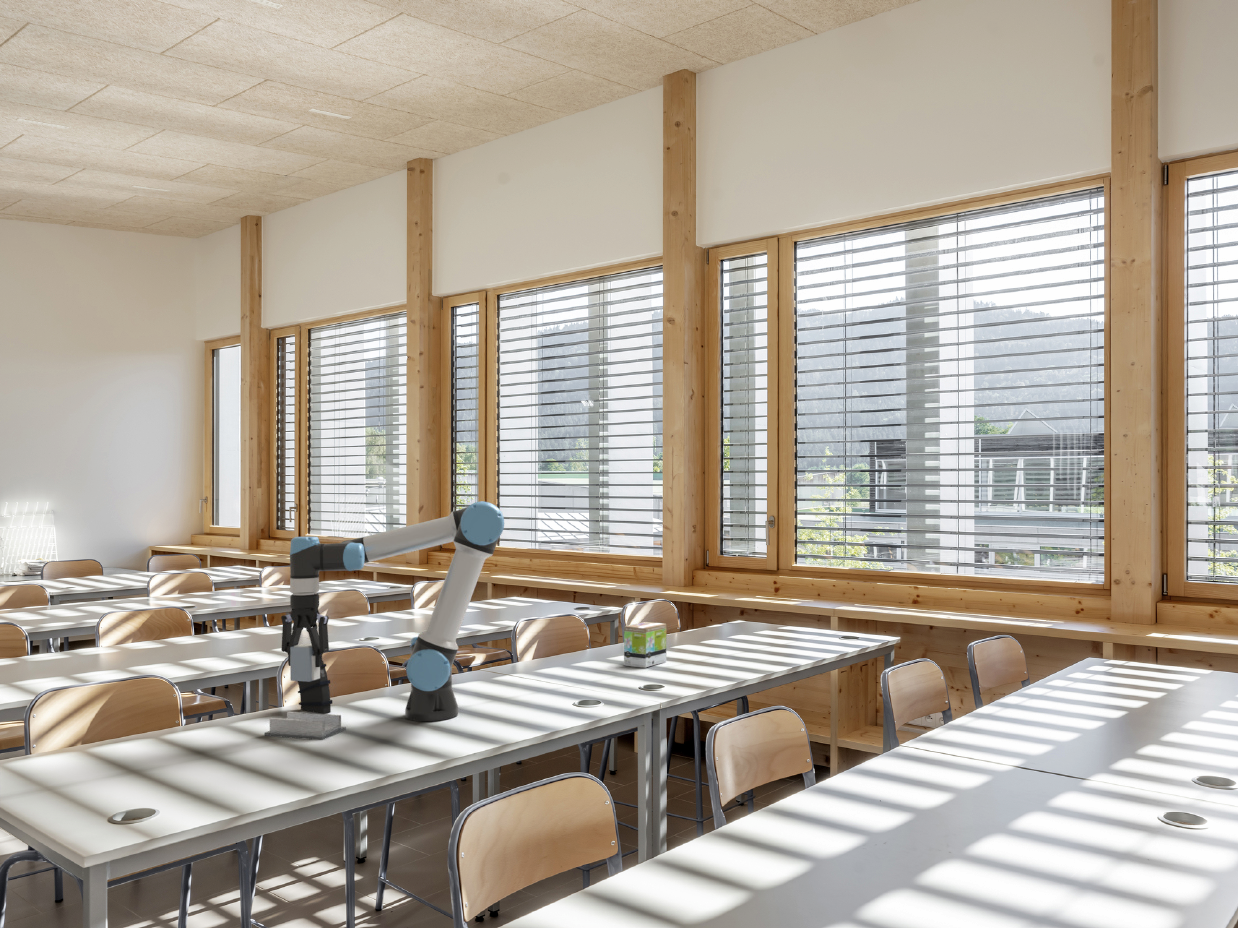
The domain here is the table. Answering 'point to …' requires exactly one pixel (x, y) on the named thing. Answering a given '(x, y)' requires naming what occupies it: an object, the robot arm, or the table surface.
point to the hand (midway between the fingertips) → (305, 678)
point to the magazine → (316, 694)
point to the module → (301, 662)
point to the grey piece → (306, 725)
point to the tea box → (644, 644)
